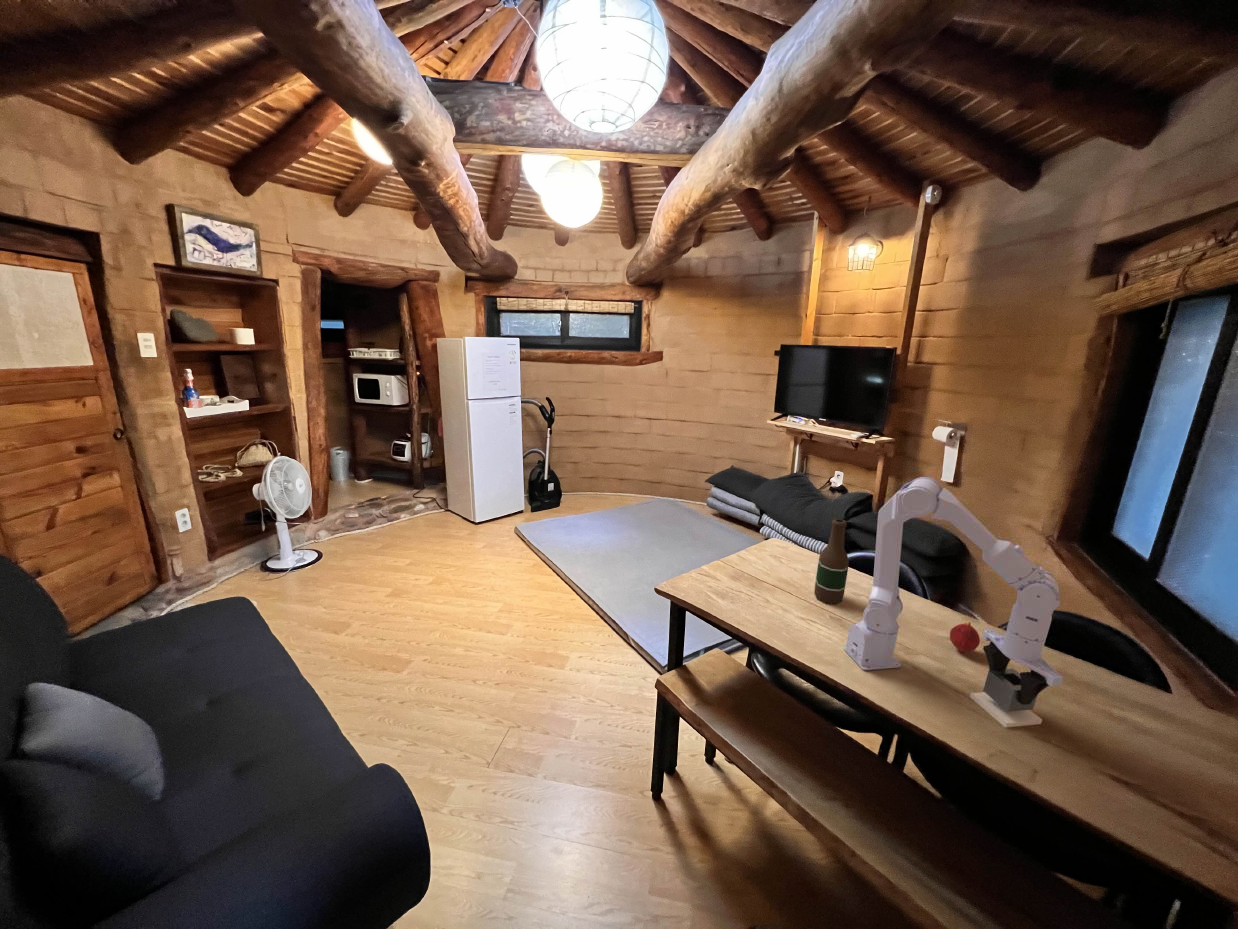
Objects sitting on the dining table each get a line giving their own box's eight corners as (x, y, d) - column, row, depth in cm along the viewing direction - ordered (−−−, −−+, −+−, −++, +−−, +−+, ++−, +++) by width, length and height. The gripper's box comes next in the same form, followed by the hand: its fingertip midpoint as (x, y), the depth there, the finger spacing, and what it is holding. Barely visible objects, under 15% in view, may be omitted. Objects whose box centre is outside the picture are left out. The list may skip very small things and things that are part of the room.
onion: (981, 660, 110) (988, 631, 108) (953, 657, 112) (960, 627, 109) (968, 645, 116) (975, 616, 114) (942, 642, 117) (949, 613, 115)
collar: (1007, 711, 92) (1014, 690, 91) (983, 690, 97) (988, 670, 96) (1032, 709, 93) (1039, 688, 91) (1007, 689, 98) (1013, 668, 97)
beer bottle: (844, 596, 137) (857, 519, 131) (840, 608, 131) (853, 528, 125) (816, 588, 141) (827, 513, 135) (811, 600, 135) (822, 521, 129)
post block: (1005, 727, 91) (1011, 706, 90) (970, 697, 99) (975, 677, 98) (1041, 723, 92) (1047, 702, 91) (1003, 694, 100) (1009, 674, 99)
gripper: (1084, 655, 84) (1064, 717, 88) (1009, 610, 98) (994, 665, 102) (1050, 658, 84) (1031, 721, 87) (979, 612, 97) (965, 668, 101)
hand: (1009, 691), depth 94 cm, fingers closed on collar, 6 cm apart
